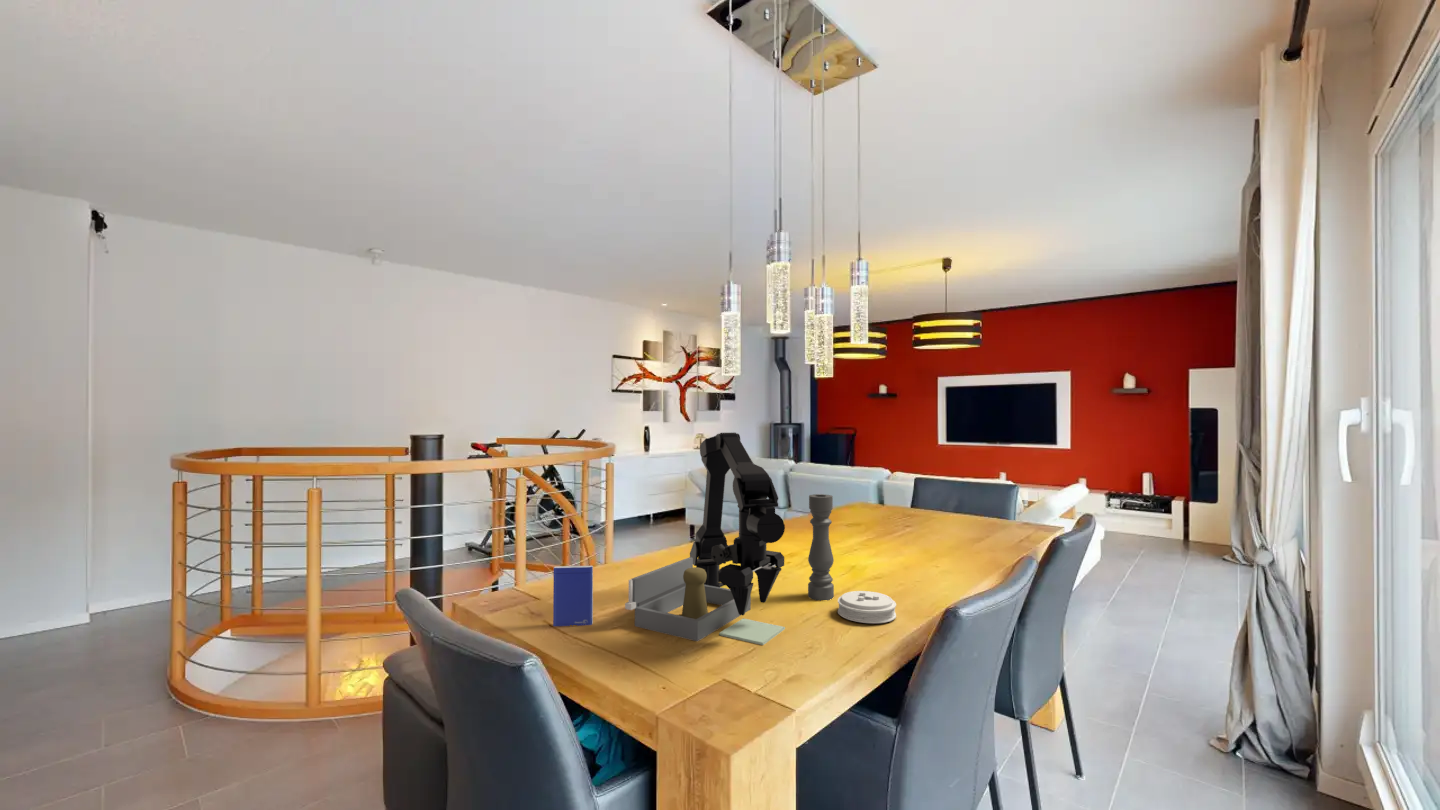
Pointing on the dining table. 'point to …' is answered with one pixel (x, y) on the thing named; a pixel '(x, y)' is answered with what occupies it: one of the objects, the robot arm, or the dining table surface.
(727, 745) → the dining table surface
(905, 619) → the dining table surface
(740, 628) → the mat
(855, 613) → the lid
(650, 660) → the dining table surface
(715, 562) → the robot arm
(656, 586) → the equipment case
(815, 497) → the candle holder
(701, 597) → the olive brown pawn
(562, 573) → the hard drive
